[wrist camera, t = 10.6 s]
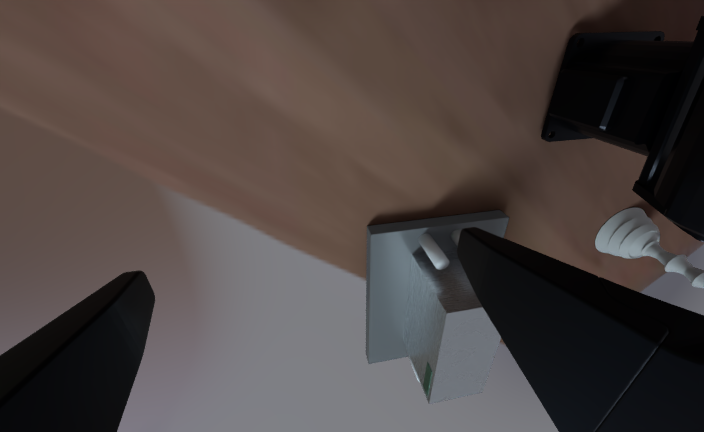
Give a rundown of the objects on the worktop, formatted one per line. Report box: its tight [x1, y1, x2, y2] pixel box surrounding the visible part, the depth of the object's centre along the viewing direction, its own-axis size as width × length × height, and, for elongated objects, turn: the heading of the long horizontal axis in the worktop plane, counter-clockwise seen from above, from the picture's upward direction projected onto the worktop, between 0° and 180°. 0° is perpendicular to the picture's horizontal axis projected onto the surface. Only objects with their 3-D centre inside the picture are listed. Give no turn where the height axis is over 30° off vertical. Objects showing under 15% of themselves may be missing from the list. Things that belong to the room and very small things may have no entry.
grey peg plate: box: [366, 210, 509, 382], centre depth 26 cm, size 11×15×4 cm
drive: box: [403, 248, 501, 404], centre depth 24 cm, size 5×10×6 cm, turn 1°
